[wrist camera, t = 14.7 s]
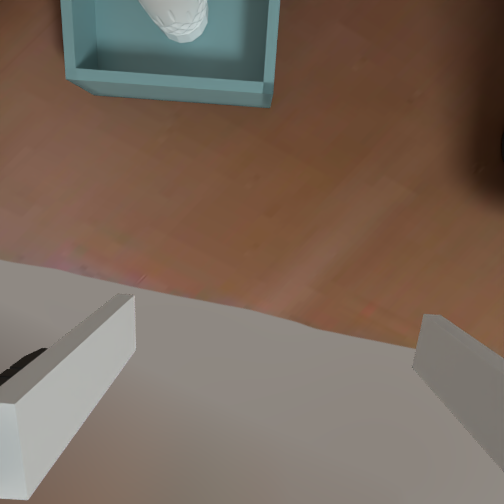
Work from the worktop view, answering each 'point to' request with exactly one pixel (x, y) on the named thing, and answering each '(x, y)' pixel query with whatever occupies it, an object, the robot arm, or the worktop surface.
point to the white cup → (178, 17)
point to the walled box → (172, 53)
